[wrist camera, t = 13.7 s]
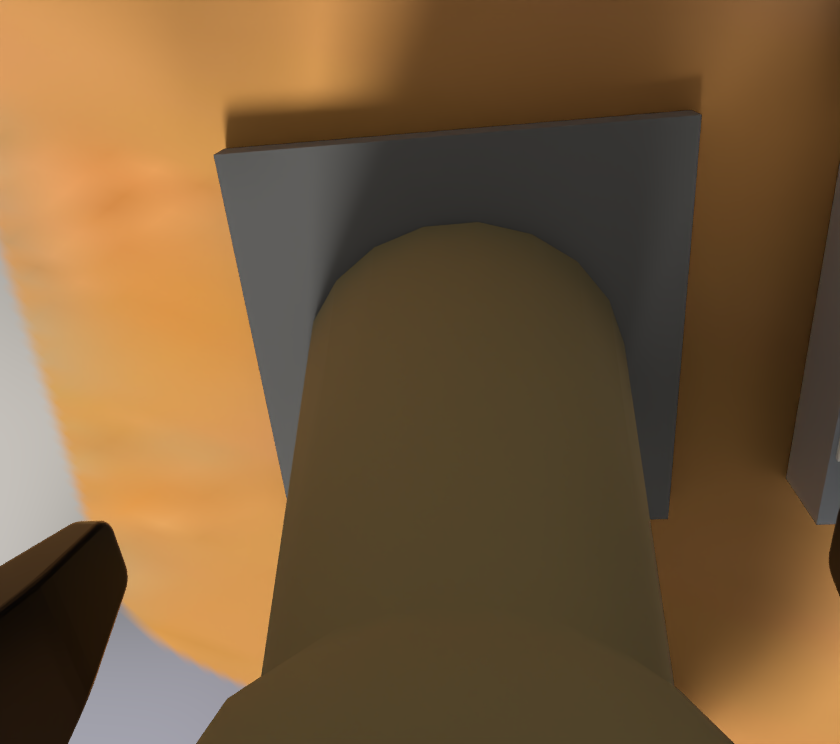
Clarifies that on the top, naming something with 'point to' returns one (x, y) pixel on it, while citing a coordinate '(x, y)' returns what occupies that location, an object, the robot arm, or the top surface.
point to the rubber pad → (466, 203)
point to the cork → (465, 516)
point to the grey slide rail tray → (821, 393)
